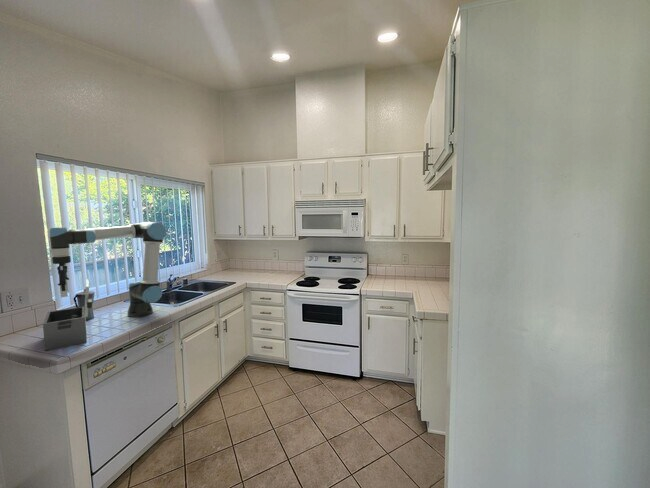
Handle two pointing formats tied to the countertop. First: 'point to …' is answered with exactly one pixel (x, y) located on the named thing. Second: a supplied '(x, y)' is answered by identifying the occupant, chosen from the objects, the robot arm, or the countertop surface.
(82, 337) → the storage box
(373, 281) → the countertop surface
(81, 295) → the moka pot
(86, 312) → the cream box lid
